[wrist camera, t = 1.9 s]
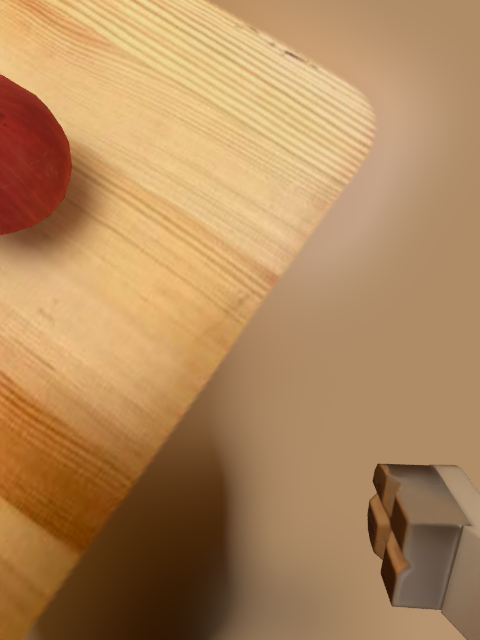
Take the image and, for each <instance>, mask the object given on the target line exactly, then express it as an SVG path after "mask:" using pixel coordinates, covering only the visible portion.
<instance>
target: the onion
mask: <svg viewBox="0 0 480 640" xmlns="http://www.w3.org/2000/svg"><path fill="white" fill-rule="evenodd" d="M71 169H72V165H71V156H70V147H69V142H68V140H67V137H66V135H65V133H64V131H63V129H62V127H61V126H60V124H59V123H58V121H57V120H56V119H55V117H54V116H53V114H52V113H51V111H50V110H49V109H48V107H47V106H46V105H45V104H44V103H43V102H42V101H41V100H40V99H39V98H38V97H37V96H36V95H34V94H33V93H31V92H29V91H27V90H26V89H24V88H22V87H21V86H19V85H18V84H16V83H14V82H13V81H11V80H9V79H8V78H6V77H5V76H3V75H0V235H3V234H9V233H12V232H16V231H19V230H22V229H26V228H29V227H32V226H34V225H35V224H37V223H38V222H40V221H41V220H43V219H44V218H46V217H48V216H49V215H51V213H52V212H53V211H54V210H55V208H56V207H57V206H58V205H59V203H60V202H61V201H62V200H63V198H64V196H65V193H66V190H67V187H68V183H69V180H70V176H71Z"/></svg>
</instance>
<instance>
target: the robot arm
mask: <svg viewBox="0 0 480 640" xmlns="http://www.w3.org/2000/svg"><path fill="white" fill-rule="evenodd" d="M373 483H374V486H375V488H376V491H377V494H376V495H374V496H373V497H372V498H371V499H370V501H369V508H368V531H369V537H370V542H371V545H372V548H373V551H374V553H375V554H376V555H377V556H379V557H380V558H381V559H382V560H383V563H382V568H381V576H382V578H383V581H384V584H385V587H386V590H387V593H388V596H389V599H390V602H391V605H392V606H395V607H408V608H422V609H435V610H442V611H441V613H442V614H443V615H444V616H445V617H446V618H447V619H448V620H449V621H450V622H451V623H452V624H453V626H454V627H455V628H456V629H457V630H458V631H459V632H460V633H461V634H462V635H463V636H464V637H465V638H466V639H467V640H480V494H479V492H478V491H477V490H476V488H475V487H474V485H473V484H472V483H471V481H470V480H469V479H468V477H467V476H466V474H465V473H464V472H463V470H462V469H461V468H460V467H458V466H456V465H429V466H428V465H427V466H426V465H400V464H397V465H396V464H377V467H376V469H375V472H374V477H373Z"/></svg>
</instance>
